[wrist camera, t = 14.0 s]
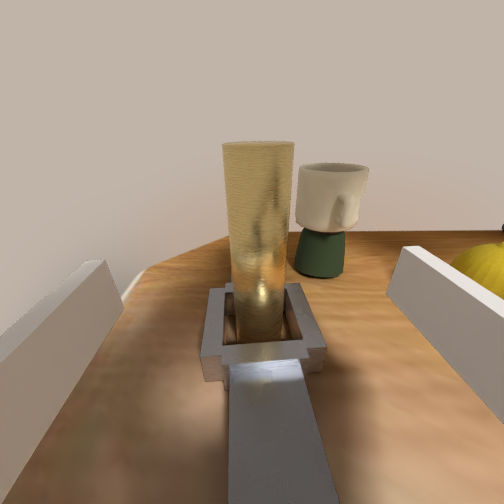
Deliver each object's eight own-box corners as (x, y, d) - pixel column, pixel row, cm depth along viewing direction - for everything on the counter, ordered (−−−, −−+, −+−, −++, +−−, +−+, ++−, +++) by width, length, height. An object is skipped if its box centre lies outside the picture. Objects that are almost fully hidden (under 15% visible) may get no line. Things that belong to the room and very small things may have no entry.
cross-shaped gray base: (283, 266, 31) (284, 247, 29) (377, 528, 11) (396, 509, 9) (217, 270, 30) (215, 250, 29) (186, 552, 10) (173, 536, 9)
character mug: (363, 293, 25) (398, 175, 19) (302, 297, 25) (316, 178, 19) (328, 248, 35) (343, 159, 28) (283, 250, 34) (288, 161, 28)
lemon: (421, 308, 23) (454, 239, 19) (444, 289, 26) (477, 225, 22) (492, 346, 19) (552, 268, 15) (511, 319, 22) (567, 247, 18)
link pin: (276, 319, 22) (285, 140, 14) (284, 355, 19) (303, 144, 11) (236, 322, 22) (223, 142, 14) (237, 359, 18) (220, 147, 10)
